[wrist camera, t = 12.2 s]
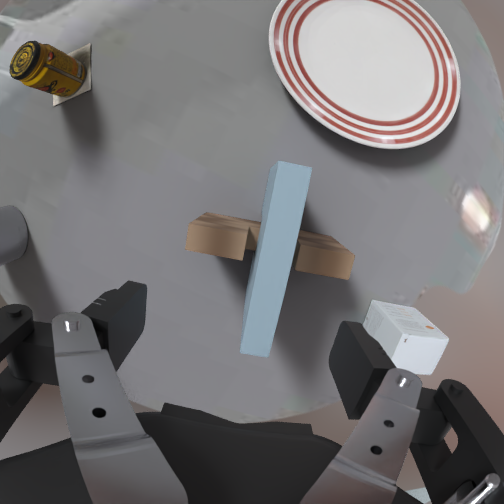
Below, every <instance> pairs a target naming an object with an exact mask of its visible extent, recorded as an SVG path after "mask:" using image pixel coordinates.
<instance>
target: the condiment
mask: <svg viewBox="0 0 504 504" xmlns="http://www.w3.org/2000/svg"><path fill="white" fill-rule="evenodd" d="M90 69H91V68H90V43H89V44H87V45H86V46H83V47H81V48H79V49H77V50H75V51H73V52H71V53H70V54H65V53H64V52H62V51H60V50H58V49H56V48H55V47H53V46H51V45H49V44H41V43H38V42H37V41H28V42H26V43H25V44H23V45H22V46H21V47H20V48H19V49H18V50H17V52H16V53H15V55H14V56H13V58H12V61H11V64H10V74H11V77H12V78H14V79H16V80H19V81H21V82H22V83H23V84H24V85H26V86H29V87H32V88H35V89H39V90H42V91H45V92H47V93H50V94H53V106H55V105H57V104H60V103H61V102H64V101H66V100H68V99H71V98H73V97H75V96H77V95H79V94H82V93H84V92H86V91H88V90H91V77H90V76H91V71H90Z"/></svg>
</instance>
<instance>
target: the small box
mask: <svg viewBox="0 0 504 504" xmlns="http://www.w3.org/2000/svg"><path fill="white" fill-rule="evenodd" d="M363 327H364V328H365V330H366V331H367V333H368V334H369V335H370V336H372V337H373V338H374V339H376V340H377V341H378V342H379V343H380V345H381V346H382V347H383V350H385V352H386V353H387V355H388V356H389V357H390V359H391V360H392V362H393V363H394V364H395V366H396V367H397V368H401V369H405V370H408V371H410V372H412V373H414V374H419V375H431V374H432V372H433V371H434V369H435V367H436V365H437V363H438V361H439V360H440V357H441V356H442V353H443V352H444V350H445V347H446V345H447V343H448V341H449V338H448V337H447V336H446V335H444V334H443V333H442V332H441V331H440V330H439V329H438V328H437V327H436V326H434V324H432V323H431V322H430V321H429V320H428V319H427V318H426V317H424V316H423V315H422V314H421V313H420V312H419V311H418V310H417V309H415V308H413V307H408V306H402V305H397V304H392V303H387V302H381V301H376V300H372V302H371V304H370V307H369V310H368V312H367V315H366V318H365V321H364V323H363Z"/></svg>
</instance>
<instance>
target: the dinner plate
mask: <svg viewBox="0 0 504 504" xmlns="http://www.w3.org/2000/svg"><path fill="white" fill-rule="evenodd" d="M269 48H270V54H271V58H272V61H273V64H274V67H275V70H276V72H277V74H278V76H279V78H280V80H281V81H282V83H283V84H284V86H285V87H286V89H287V90H288V92H289V93H290V94H291V96H292V97H293V98H294V99H295V100H296V102H297V103H298V104H299V105H300V106H301V107H302V108H303V109H304V110H305V111H306V112H307V113H309V114H310V115H311V116H312V117H313V118H314V119H316V120H317V121H318V122H320V123H321V124H322V125H324V126H325V127H327V128H328V129H330V130H332V131H333V132H335V133H337V134H339V135H340V136H343V137H345V138H347V139H349V140H352V141H354V142H357V143H360V144H363V145H367V146H371V147H375V148H383V149H404V148H411V147H415V146H418V145H421V144H424V143H426V142H428V141H430V140H432V139H433V138H435V137H436V136H437V135H439V134H440V133H441V132H442V131H443V130H444V129H445V128H446V127H447V126H448V124H449V123H450V122H451V120H452V118H453V116H454V114H455V112H456V109H457V107H458V103H459V98H460V73H459V68H458V63H457V60H456V57H455V54H454V52H453V49H452V47H451V45H450V43H449V41H448V39H447V37H446V36H445V34H444V32H443V31H442V30H441V28H440V27H439V25H438V24H437V23H436V22H435V20H434V19H433V18H432V17H431V16H430V15H429V14H428V13H427V12H426V11H425V10H424V9H423V8H422V7H421V6H420V5H419V4H417V3H416V2H415V1H413V0H282V1H281V2H280V3H279V5H278V6H277V8H276V10H275V12H274V14H273V17H272V20H271V24H270V29H269Z"/></svg>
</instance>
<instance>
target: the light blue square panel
mask: <svg viewBox="0 0 504 504" xmlns="http://www.w3.org/2000/svg"><path fill="white" fill-rule="evenodd" d="M311 171H312V168H310V167H306V166H301V165H297V164H292V163H288V162H283V161H278V162H277V163H276V164H275V165H274V166H273V167H272V168H271V169H270V173H269V178H268V183H267V188H266V193H265V198H264V203H263V208H262V221H261V226H260V231H259V236H258V241H257V246H256V252H255V251H254V254H253V259H252V264H251V269H250V274H249V279H248V284H247V289H246V296H245V306H244V316H243V326H242V335H241V345H240V353H243V354H249V355H255V356H262V357H269V353H270V349H271V345H272V341H273V338H274V334H275V330H276V326H277V322H278V318H279V314H280V310H281V306H282V302H283V298H284V294H285V290H286V285H287V281H288V277H289V273H290V268H291V264H292V260H293V256H294V251H295V247H296V242H297V238H298V233H299V229H300V224H301V220H302V215H303V210H304V205H305V201H306V196H307V191H308V186H309V181H310V176H311Z"/></svg>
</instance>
